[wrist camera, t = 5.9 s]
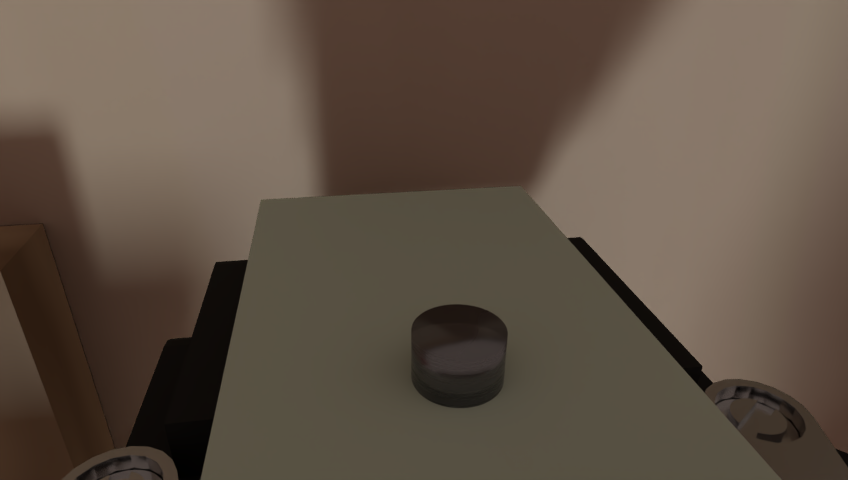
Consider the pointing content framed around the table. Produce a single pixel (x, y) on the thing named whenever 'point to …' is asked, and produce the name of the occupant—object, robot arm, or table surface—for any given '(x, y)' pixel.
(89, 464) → the robot arm
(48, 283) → the brown open box
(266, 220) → the mini cabinet
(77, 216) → the table surface
